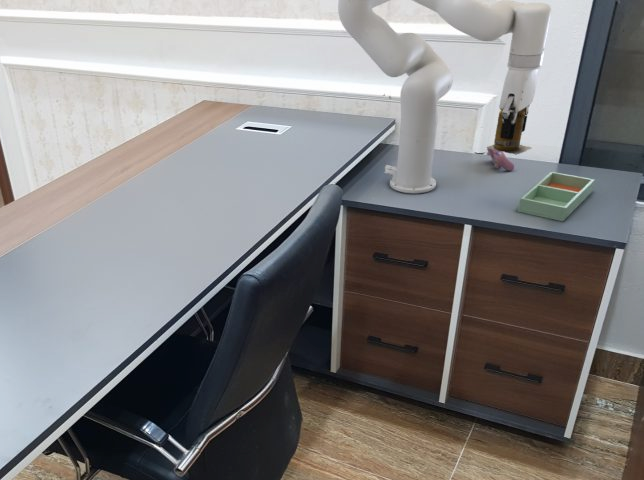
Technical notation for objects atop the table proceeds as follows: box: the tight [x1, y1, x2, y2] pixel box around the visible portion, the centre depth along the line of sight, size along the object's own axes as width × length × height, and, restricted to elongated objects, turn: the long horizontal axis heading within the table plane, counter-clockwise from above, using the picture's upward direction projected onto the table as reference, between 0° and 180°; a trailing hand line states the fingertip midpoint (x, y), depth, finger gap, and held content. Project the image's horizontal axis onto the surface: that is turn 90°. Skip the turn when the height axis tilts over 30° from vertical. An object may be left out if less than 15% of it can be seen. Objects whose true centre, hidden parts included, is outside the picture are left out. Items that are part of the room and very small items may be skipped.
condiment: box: [485, 108, 532, 155], centre depth 180 cm, size 7×8×12 cm
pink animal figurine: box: [486, 148, 515, 172], centre depth 210 cm, size 10×5×7 cm, turn 178°
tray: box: [517, 171, 596, 222], centre depth 187 cm, size 11×22×4 cm, turn 138°
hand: (512, 134), depth 181 cm, fingers closed on condiment, 6 cm apart
